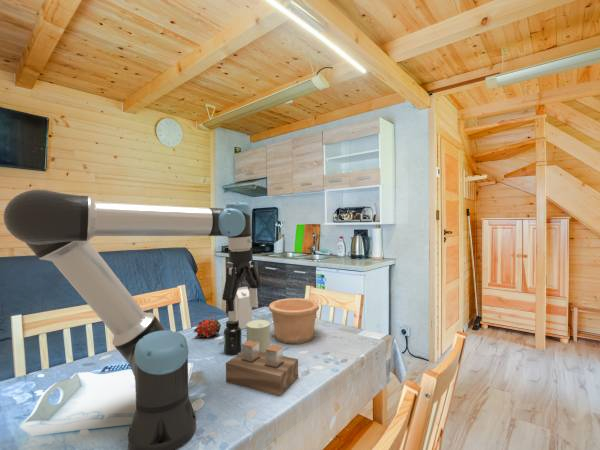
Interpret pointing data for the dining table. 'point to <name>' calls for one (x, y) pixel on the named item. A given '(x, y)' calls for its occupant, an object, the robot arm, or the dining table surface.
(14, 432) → the dining table surface
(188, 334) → the dining table surface
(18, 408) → the dining table surface
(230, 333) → the supplement bottle
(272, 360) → the right pin
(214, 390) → the dining table surface
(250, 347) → the left pin
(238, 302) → the milk carton
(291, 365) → the socket block
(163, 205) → the robot arm
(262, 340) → the can
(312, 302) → the pottery
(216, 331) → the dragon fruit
